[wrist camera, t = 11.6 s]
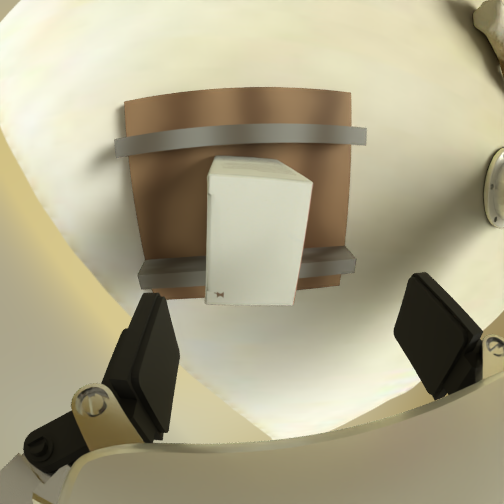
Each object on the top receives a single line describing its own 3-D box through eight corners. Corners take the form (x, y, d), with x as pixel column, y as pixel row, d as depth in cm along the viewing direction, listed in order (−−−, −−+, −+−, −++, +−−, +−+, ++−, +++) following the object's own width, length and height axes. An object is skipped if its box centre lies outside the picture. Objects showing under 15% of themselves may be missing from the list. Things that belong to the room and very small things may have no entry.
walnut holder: (345, 93, 22) (366, 90, 18) (335, 279, 31) (349, 300, 27) (128, 102, 21) (111, 99, 17) (156, 293, 29) (149, 317, 26)
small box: (269, 242, 27) (294, 309, 17) (209, 240, 26) (204, 308, 17) (279, 157, 23) (317, 181, 14) (214, 153, 23) (206, 173, 13)
